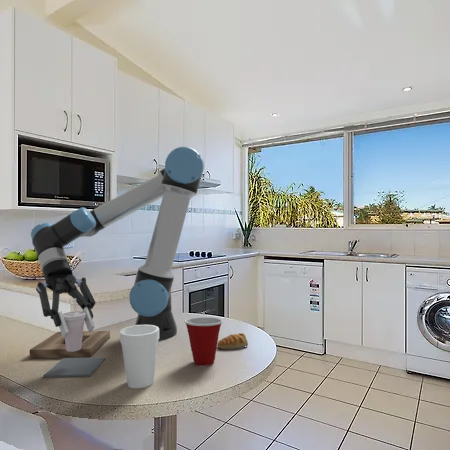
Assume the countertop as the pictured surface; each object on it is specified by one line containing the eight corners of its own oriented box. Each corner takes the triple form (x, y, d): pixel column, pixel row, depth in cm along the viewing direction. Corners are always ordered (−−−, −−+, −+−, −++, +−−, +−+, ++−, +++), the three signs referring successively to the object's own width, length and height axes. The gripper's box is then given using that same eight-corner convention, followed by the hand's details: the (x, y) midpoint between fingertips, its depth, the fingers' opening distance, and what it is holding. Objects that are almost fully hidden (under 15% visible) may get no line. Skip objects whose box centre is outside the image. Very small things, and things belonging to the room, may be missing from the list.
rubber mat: (105, 359, 105) (105, 357, 105) (89, 376, 93) (89, 374, 93) (63, 360, 105) (63, 357, 105) (43, 377, 93) (43, 375, 93)
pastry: (223, 352, 109) (222, 340, 110) (213, 346, 116) (213, 334, 116) (249, 347, 114) (249, 335, 114) (239, 341, 120) (239, 330, 120)
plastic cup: (227, 356, 106) (227, 315, 106) (217, 370, 95) (217, 325, 95) (192, 353, 109) (191, 313, 109) (179, 367, 98) (178, 323, 98)
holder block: (109, 338, 125) (109, 330, 125) (90, 357, 107) (90, 348, 107) (57, 338, 125) (57, 331, 125) (29, 358, 107) (29, 349, 107)
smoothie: (77, 354, 95) (76, 301, 95) (55, 352, 96) (55, 300, 96) (90, 346, 101) (90, 296, 101) (70, 344, 103) (70, 295, 103)
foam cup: (166, 377, 92) (165, 326, 92) (147, 393, 83) (146, 337, 83) (134, 372, 95) (133, 323, 95) (112, 388, 86) (111, 333, 86)
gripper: (83, 271, 117) (108, 332, 105) (17, 278, 103) (37, 348, 91) (90, 256, 113) (117, 317, 101) (22, 260, 99) (44, 332, 88)
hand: (79, 332), depth 96 cm, fingers closed on smoothie, 6 cm apart
